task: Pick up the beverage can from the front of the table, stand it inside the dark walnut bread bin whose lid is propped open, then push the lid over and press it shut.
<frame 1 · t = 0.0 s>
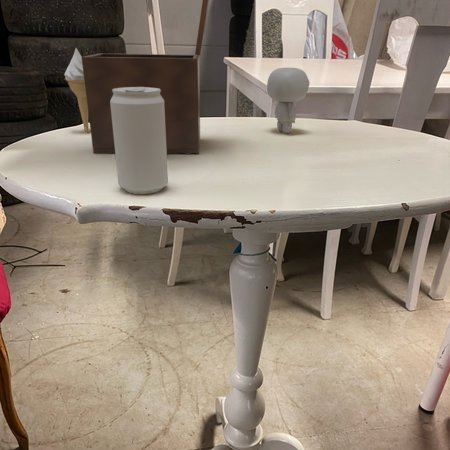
figurine: (284, 133, 97), on the table
beverage can: (143, 189, 61), on the table
bread bin: (150, 145, 84), on the table
ice cream cone: (87, 133, 94), on the table
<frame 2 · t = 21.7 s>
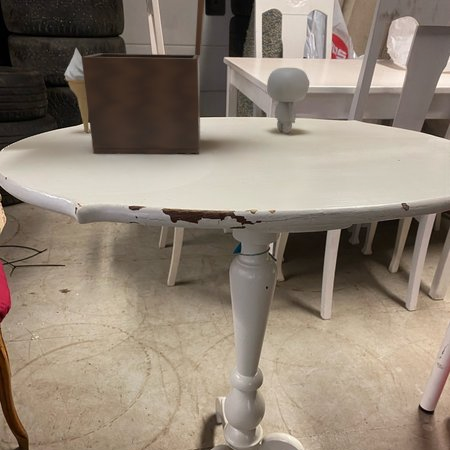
hand: (215, 15, 74), 20 cm above the table, tool pointing down, fingers closed
beverage can: (149, 142, 83), point 1 cm above the table, touching bread bin
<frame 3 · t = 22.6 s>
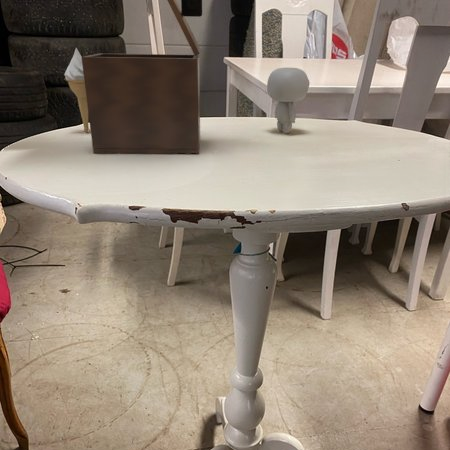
hand: (192, 16, 74), 20 cm above the table, tool pointing down, fingers closed
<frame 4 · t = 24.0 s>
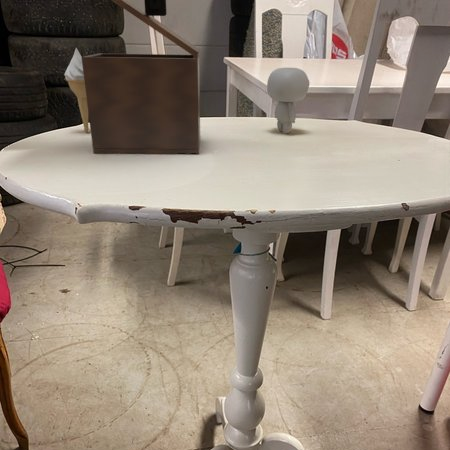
hand: (156, 15, 74), 20 cm above the table, tool pointing down, fingers closed
bin lid: (148, 19, 74), point 19 cm above the table, hinge at 30.8°
everything else where it was.
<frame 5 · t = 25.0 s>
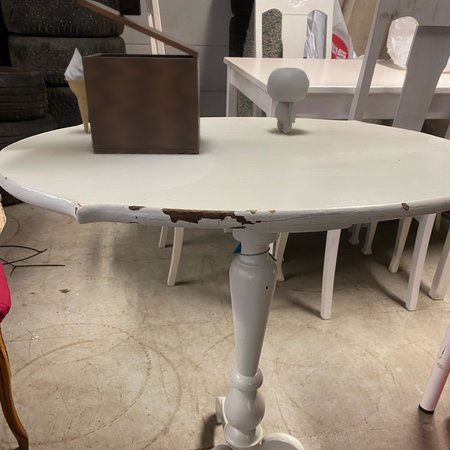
hand: (130, 15, 74), 20 cm above the table, tool pointing down, fingers closed
bin lid: (144, 28, 75), point 18 cm above the table, hinge at 21.7°
everything else where it was.
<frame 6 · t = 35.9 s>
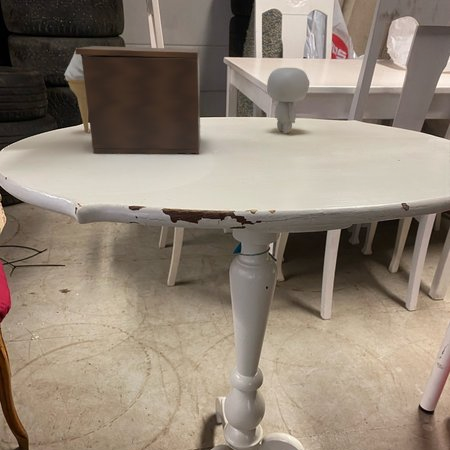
bin lid: (142, 51, 76), point 15 cm above the table, hinge at 0.9°
everything else where it was.
at the end: beverage can inside the target area in the bread bin (0.1 cm from its centre), point 0.6 cm above the bread bin's base; beverage can tilted 0°; bin lid at +1° (first picture: +100°) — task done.
